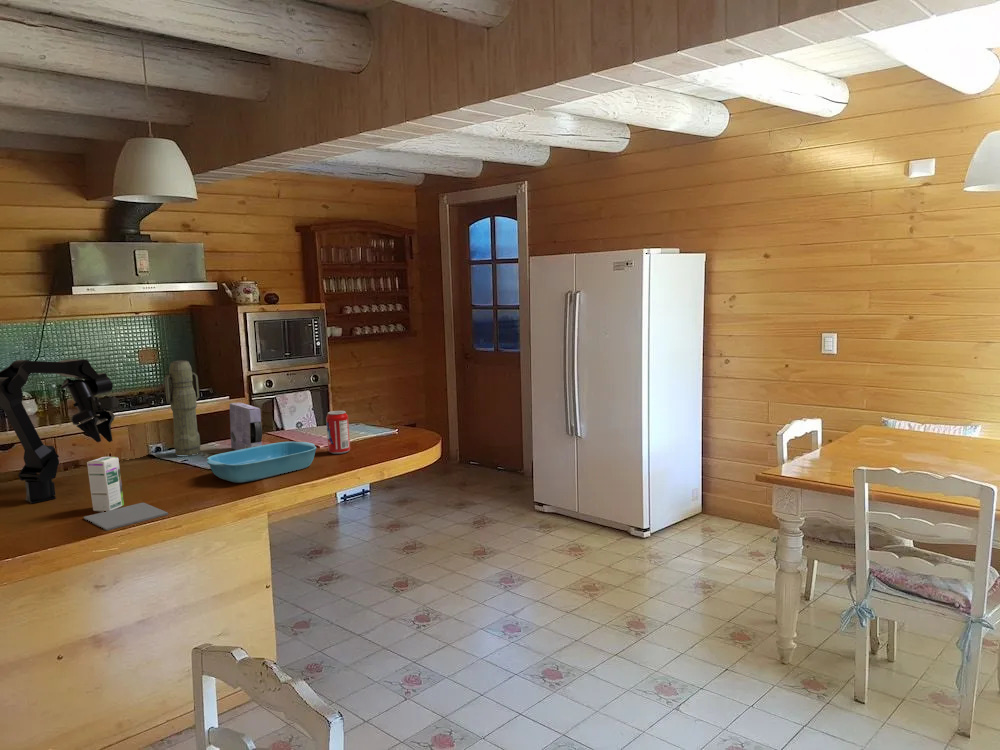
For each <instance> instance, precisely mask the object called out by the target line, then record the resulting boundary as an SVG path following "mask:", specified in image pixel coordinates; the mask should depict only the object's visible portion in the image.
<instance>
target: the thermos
mask: <svg viewBox="0 0 1000 750" xmlns="http://www.w3.org/2000/svg"><path fill="white" fill-rule="evenodd" d="M168 369H169V370H168V374H166V375H165V377H164V380H163V381H164V391H165V399H166V403H167V404H170V409H171V411H172V418H173V419H172V420H173V430H174V435H173V446H174V447H173V448H174V450H175V455H176V454H177V455H192V454H197V453H200V452H201V436H200V433H199V430H198V422H197V421H198V419H197V410H196V409H197V401H198V400H199V399H200V397H201V396H200V387H199V377H198V374H197V373H196V372H193V371H192V370H193V368H192V366H191V364H190V361H189V360H186V359H185V360H184V359H182V360H181V359H180V360H173V361H172V362H170V365H169V368H168ZM200 454H201V453H200Z"/></svg>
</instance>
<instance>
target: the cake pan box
mask: <svg viewBox="0 0 1000 750" xmlns="http://www.w3.org/2000/svg"><path fill="white" fill-rule="evenodd" d="M261 415H262V413H261V408H260V407H256V406H253V405H250V404H247V403H243V402H230V403H229V425H230V426H229V427H230V448H231V449H232V450H234V451H236V450H241V449H246V448H251V447H256V446H261V445H263V443H262V438H263V428H262V426H263V425H262V416H261Z"/></svg>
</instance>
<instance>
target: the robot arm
mask: <svg viewBox="0 0 1000 750" xmlns="http://www.w3.org/2000/svg"><path fill="white" fill-rule="evenodd" d="M31 374H54V375H55V374H56V375H59V376H61V377H67V378H66V379H65V380H63V381H62V384H61V386H60V389H62V390H64V389H68V391H69V394H70V395H71V397H72V399H73V402H74V403H73V407H74V408H77V410H78V411H79V412H77V413H75V414H73V415H72V416H71V418H70V420H71V422H72V424H73V425H74V426H76V427H77V428H79V430H81V431H82V432H83V433H85V434H86V435H87V436H89V437H90V438H91V439H93V440H94V441H95V442H96V443H100V442H102V437H103V438H104V439H105V440H106V441H107V442H108V443H111V442H113V434H112V426H111V425H112V424H113V421H114V420H115V418H116V417H115V414H114V412H113V411H110V410H111V409H119V404H120V401H119V398H118V397H116V396H114V395H113V396H108V398H99V397H98V396H99V395H103V394H104V395H105V394H109V393H111V392H112V391H113V387H114V386H113V382H112V380H111V378H110V377H108V376H107V372H99V373H97V371H96V370H95V369H94V368H93V367H92V365H91V362H89V360H88V359H85V358H82V359H81V358H80V359H79V358H78V359H77V358H74V359H73V358H70V359H64V360H59V361H44V360H43V361H37V360H28V359H16V360H14V361H12V363H11V364H10V365H8V366H7V367H6V368H4V369H2V370H1V371H0V408H1V409H2V411H3V412H4V414H5V415H6V418H7V419H8V421H9V423H10V426H11V427H12V428H13V429H12V430H13V431H14V432H15V434H16V436H17V438H18V441H19V442H20V444H21V446H22V448H23V450H24V451H23V452H24V453H23V454H24V455H23V461H24V466H23V467H22V469H21V470H20V471H19V473H18V474H17V475H18V478H19V479H20V481H21V482H22V481H24V483H25V484H24V485H25V495H26V498H24V501H26V502H29V503H30V504H37V503H40V502H44V501H45V502H46V501H49V500H53V499H56V498H57V496H56V487H55V482H54V481H53V479H56V478H57V473H58V467H59V464H60V459H59V458H60V456H59V454H58V453H57V451H56V448H55V447H54V445H46V444H44V443H43V442H42V439H41V437H40V435H39V433H38V432H37V430H36V428H35V425H34V424H33V422H32V419H31V418H30V416H29V413H28V412H27V410H26V408H25V406H24V404H23V396H24V392H23V390H22V388H23V387H24V386H25V385H26V384H27V382H28V379H29V376H30V375H31ZM72 378H74V379H72ZM109 409H110V410H109ZM101 436H102V437H101Z"/></svg>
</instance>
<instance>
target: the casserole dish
mask: <svg viewBox="0 0 1000 750" xmlns="http://www.w3.org/2000/svg"><path fill="white" fill-rule="evenodd" d="M316 451H317V446H315V444H314V443H312V442H307V441H281V442H274V443H268V444H262V445H261V446H256V447H251V448H246V449H241V450H231V451H227V452H222V453H217V454H214V455H211V456H210V455H209V457H208V456H207V459H206V460H207V461H206V464H207V465H209V467H210V470H211V471H212V473H213V475H215V476H216V477H218V478H219V479H222V480H224V481H228V482H231V483H236V484H237V483H239V484H240V483H241V484H242V483H247V482H249V483H250V482H253V481H258V480H262V479H266V478H271V477H276V476H280V474H281V475H284V473H285V474H287V473H288V472H289V473H292V471H293V472H295V471H296V470H297V471H300V470H303V469H307V468H308V467H309V466H310V465H311V464H312V462H313V461H314V458H315V454H316Z"/></svg>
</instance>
